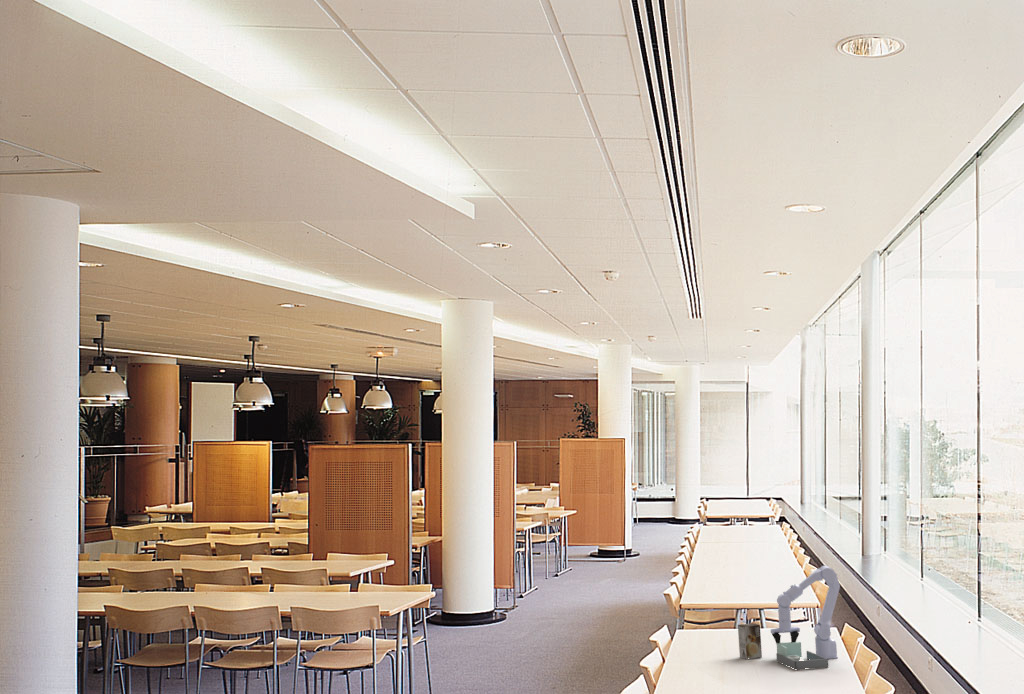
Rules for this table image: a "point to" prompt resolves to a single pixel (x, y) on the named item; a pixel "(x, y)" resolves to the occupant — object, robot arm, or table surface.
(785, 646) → the l-shaped corner panel
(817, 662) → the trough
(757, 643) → the coffee box
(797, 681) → the table surface
